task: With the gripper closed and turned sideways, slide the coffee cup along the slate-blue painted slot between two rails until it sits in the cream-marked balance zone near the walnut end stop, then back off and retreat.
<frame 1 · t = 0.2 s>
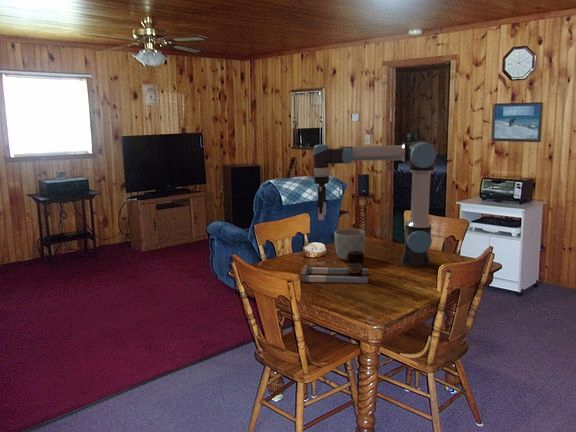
hand: (322, 217, 269), 28 cm above the table, fingers open, 13 cm apart
planter: (349, 258, 293), on the table
coffee cup: (355, 278, 258), on the table
beam slot: (337, 277, 259), on the table
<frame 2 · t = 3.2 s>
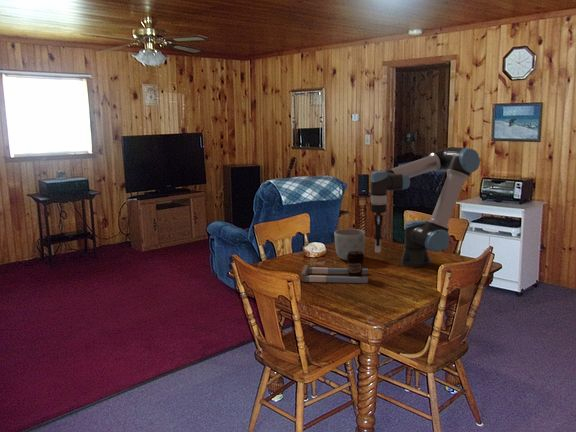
hand: (377, 251, 254), 13 cm above the table, fingers closed
nothing on the table moved.
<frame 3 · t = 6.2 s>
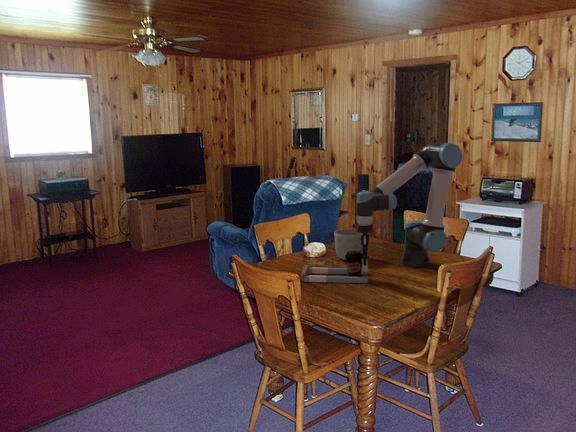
hand: (364, 271, 256), 4 cm above the table, fingers closed
coffee cup: (355, 277, 258), on the table, touching gripper
everything else where it was.
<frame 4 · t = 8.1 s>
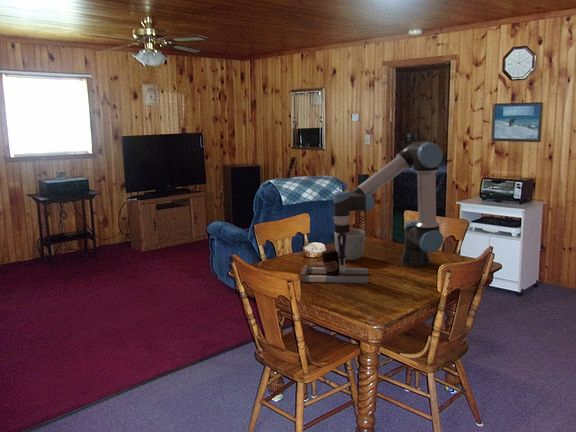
hand: (342, 270, 258), 4 cm above the table, fingers closed
coffee cup: (334, 276, 259), on the table, touching gripper
everything else where it was.
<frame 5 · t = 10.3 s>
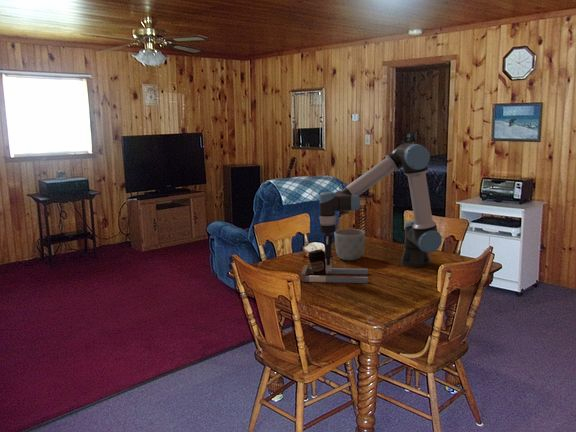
hand: (328, 270, 259), 3 cm above the table, fingers closed
coffee cup: (320, 276, 260), on the table, touching gripper
everything else where it was.
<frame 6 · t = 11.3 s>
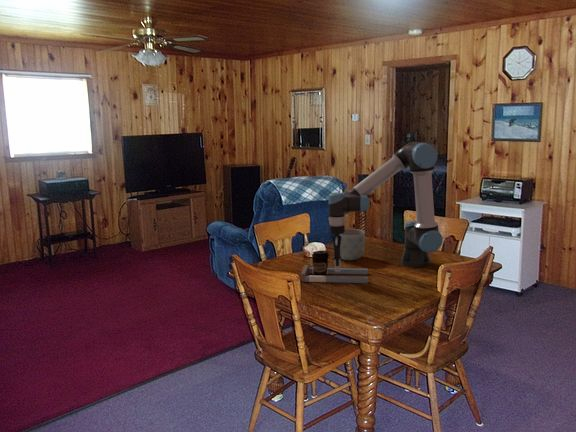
hand: (337, 271, 259), 3 cm above the table, fingers closed
coffee cup: (320, 277, 260), on the table
everything else where it was.
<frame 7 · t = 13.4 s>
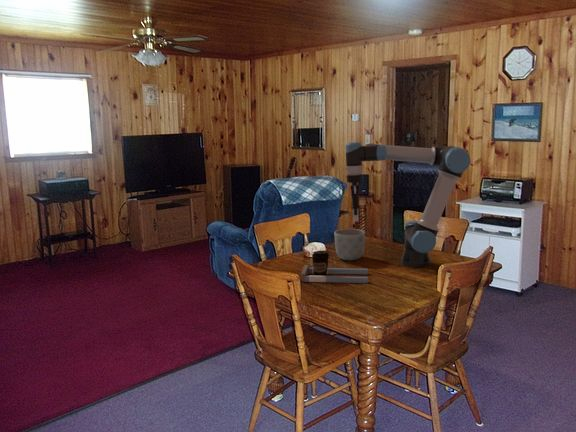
hand: (355, 221, 263), 26 cm above the table, fingers closed
nothing on the table moved.
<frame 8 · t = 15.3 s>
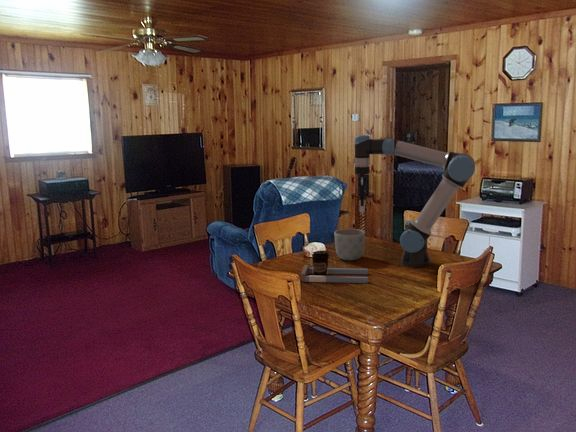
hand: (362, 211, 270), 29 cm above the table, fingers closed
nothing on the table moved.
at the end: coffee cup inside the target area (1.7 cm from its centre), on the table; coffee cup tilted 0°; the gripper is holding nothing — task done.
